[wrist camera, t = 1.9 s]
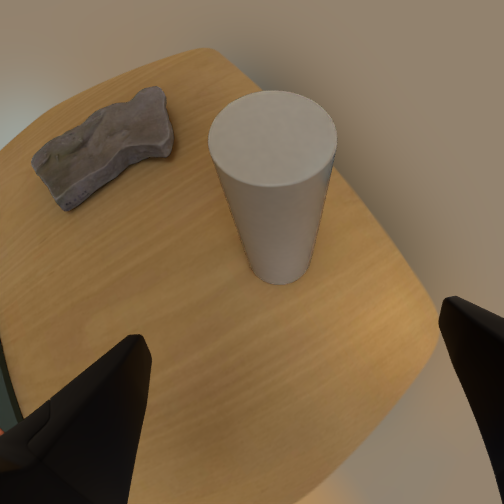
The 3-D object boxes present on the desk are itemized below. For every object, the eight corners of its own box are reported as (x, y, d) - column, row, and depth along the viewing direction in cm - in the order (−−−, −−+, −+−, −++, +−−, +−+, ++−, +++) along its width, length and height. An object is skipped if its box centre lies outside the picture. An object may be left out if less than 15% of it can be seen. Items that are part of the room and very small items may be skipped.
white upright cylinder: (323, 264, 22) (363, 151, 10) (266, 296, 22) (244, 210, 10) (290, 213, 24) (292, 76, 12) (236, 242, 23) (188, 119, 11)
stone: (164, 93, 30) (152, 65, 26) (190, 153, 27) (177, 123, 23) (48, 156, 29) (29, 136, 25) (53, 225, 26) (27, 207, 22)
